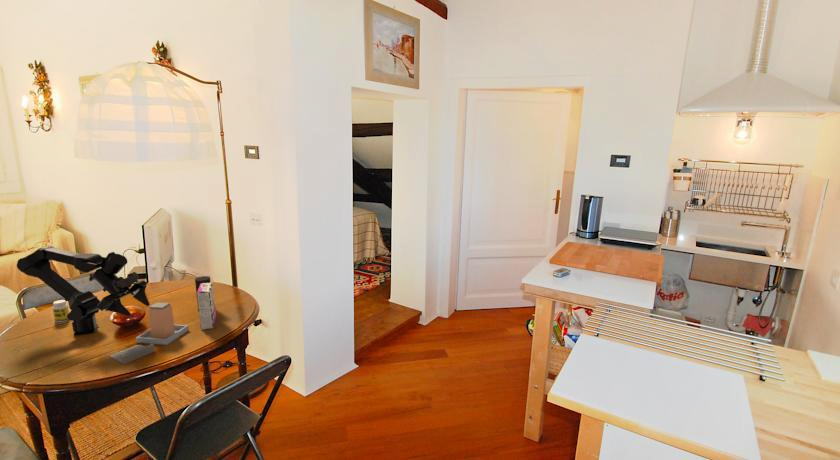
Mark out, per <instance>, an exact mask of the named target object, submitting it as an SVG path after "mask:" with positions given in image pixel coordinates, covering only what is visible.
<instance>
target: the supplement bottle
mask: <svg viewBox="0 0 840 460" xmlns="http://www.w3.org/2000/svg"><path fill="white" fill-rule="evenodd" d="M52 304H53V305H52V306H53V307H52V313H53V317H54V319H53V320H54V322H55V323H58V322H59V323H64V322H67V320H68V321H69V319H68V317H67V315H68V314H69V313H70V311H69V310H70V309H69V304H67V300H66V299H60V300H59V299H58V300H55V301H53V303H52Z"/></svg>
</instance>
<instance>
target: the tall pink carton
mask: <svg viewBox="0 0 840 460" xmlns="http://www.w3.org/2000/svg"><path fill="white" fill-rule="evenodd" d="M147 313H148V321H149V329H150V330H151V337H152V338H159V339H167V338H168V337H170V336H171V335H173V334H174V333H175V328H174V324H175V321H174V313H173V305H172V304H170V302H155V303H153V304H151V305H149V308H147Z"/></svg>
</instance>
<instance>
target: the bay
mask: <svg viewBox="0 0 840 460" xmlns="http://www.w3.org/2000/svg"><path fill="white" fill-rule="evenodd" d="M154 352H155V344H147V345H146V346H144V345H142V344H141V343H138V344H136V345H133V346H130V347H128V348H125V349H123V350H121V351H118V352H115V353H113V354H110V355H109V357H110V358H112V359H115V361H118V362H120V363H121V364H123V365H125V364H128V363H130V362H132V361H136V360H137V359H140V358H143V357H145V356H147V355H149V354H151V353H154Z"/></svg>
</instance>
